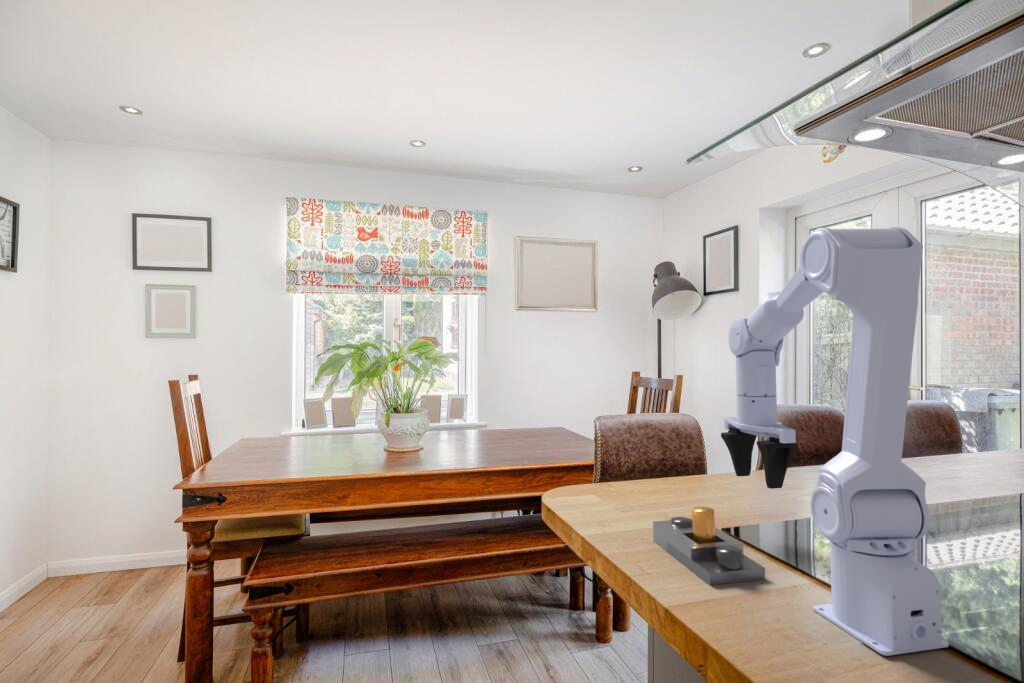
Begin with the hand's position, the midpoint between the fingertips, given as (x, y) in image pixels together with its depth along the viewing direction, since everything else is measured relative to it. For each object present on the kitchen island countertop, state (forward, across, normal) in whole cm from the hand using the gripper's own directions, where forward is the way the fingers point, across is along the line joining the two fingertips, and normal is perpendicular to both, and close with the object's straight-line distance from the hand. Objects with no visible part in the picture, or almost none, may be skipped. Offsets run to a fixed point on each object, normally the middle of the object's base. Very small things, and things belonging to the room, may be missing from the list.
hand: (758, 481), depth 81 cm
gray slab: (+9, -4, +12) cm, 16 cm away
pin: (+9, -4, +12) cm, 16 cm away
